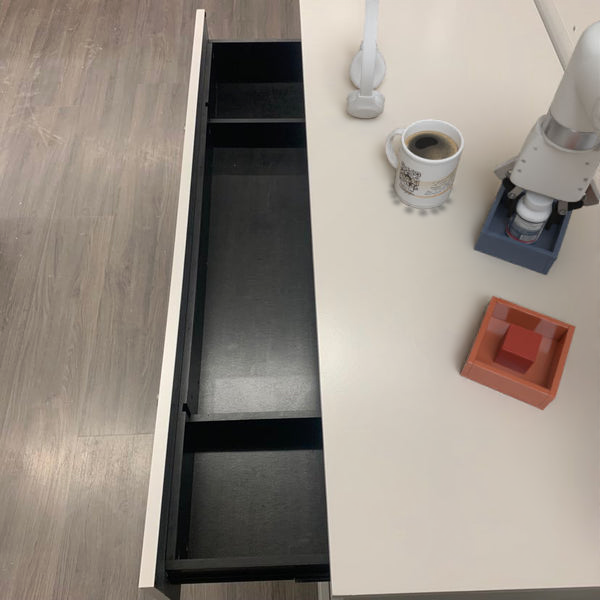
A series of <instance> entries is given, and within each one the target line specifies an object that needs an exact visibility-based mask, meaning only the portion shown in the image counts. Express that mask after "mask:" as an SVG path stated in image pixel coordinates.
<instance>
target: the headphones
mask: <svg viewBox="0 0 600 600" xmlns="http://www.w3.org/2000/svg"><path fill="white" fill-rule="evenodd" d="M379 4H380V0H365V10H364V24H363V38H362V40H361V43H360V44H359V45H360V46H359V48H358V51H357V52H356V53H355V54H354V56H353V57H352V59H351V62H350V65H349V77H350V80H351V82H352V84H353V85H354V86H355V87H356V88H358V89H355V90H352V91H351V92H349V93H348V94H347V96H346V112H347V113H348V114H349V115H351V116H353V117H356V118H358V119H373V118H375V117H379V116H381V115H382V114H383V113H384V108H385V102H386V97H385V95H384V93H382V92H380V90H376V88H378V87H379V86H380V85H381V84H382V83H383V81H384V79H385V77H386V73H387V65H386V60H385V58H384V56H383V54H382V53H381V51H379V46H378V42H377V37H378V21H379Z"/></svg>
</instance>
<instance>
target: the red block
mask: <svg viewBox="0 0 600 600" xmlns="http://www.w3.org/2000/svg"><path fill="white" fill-rule="evenodd" d="M542 337H543V335H541V334H539V333H536V332H533V331H531V330H528V329H526V328H523V327H520V326H518V325H515V324H513V323H511V324H510V325H509V327H508V329H507V330H506V332H505V334H504V335H503V337H502V339H501V342H500V345H499V347H498V350H497V353H496V356H495V359H494V361H493V362H495V363H497V364H499V365H502V366H504V367H507V368H509V369H512V370H514V371H517V372H519V373H521V374H525V373H526V372H527V371H528V369H529V368H530V367H531V366H532V364H533V363H534V362H535V359H536V356H537V353H538V350H539V347H540V343H541V340H542Z"/></svg>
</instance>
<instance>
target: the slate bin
mask: <svg viewBox="0 0 600 600" xmlns="http://www.w3.org/2000/svg"><path fill="white" fill-rule="evenodd" d="M526 192H527V189H524V190H523V191H522V192H521V195H520V197H519V199H520V198H521V197H523V196H524V195H525V194H526ZM508 198H509V197H508V192H507V190H506V189H505V187H504V186H503V184H502V183H501V184H500V187H499V189H498V191H497V193H496V196H495V198H494V200H493V203H492V205H491V207H490V209H489V212H488V214H487V216H486V219H485V222H484V223H483V226H482V228H481V231H480V233H479V235H478V238H477V241H476V243H475V246H474V250H473V251H477V252H479V253H482V254H485V255H488V256H491V257H494V258H496V259H500V260H502V261H505V262H508V263H511V264H513V265H516V266H519V267H522V268H525V269H528V270H531V271H534V272H536V273H539V274H541V275H545V276H547V275H548V273H549V272H550V270H551V269H552V267H553V266H554V264H555V262H556V260H558V257H559V255H560V254H559V253H560V251H561V247H562V244H563V241H564V240H565V239H564V238H565V235H566V233H567V229H568V226H569V224H570V220H571V217H572V214H573V211H574V210H572V211H567V213H566V214H565V215H562V217H561V219H560V220H559V222H558V224H557V225H556V224H552V226H551V228H550V230H549V231H547V230H545V229H544V228H545V226H544V228H543V230H542V232H541V234H540V236H539V238H538V239H537V240H536V241H535V242H533V243H531V244H527V243H524V242H521V241H518V240H515V239H512V238H510V237H509V236H508V235H507V232H506V227H507V224H508V222H509V220H510V217H509V218H508V217H506V215H507V213H508V210H509V209H506V208H505V206H506V203H507V201H508ZM557 200H558V201H559V199H556V198H554V201H553V203H552V209H553V207H554V205H555V204H556V202H557ZM545 225H546V224H545Z"/></svg>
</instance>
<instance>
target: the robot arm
mask: <svg viewBox="0 0 600 600" xmlns="http://www.w3.org/2000/svg"><path fill="white" fill-rule="evenodd" d="M599 165H600V20H597V21H595V22H593V23H592V24H590V25H588V26H587V27H586V28H585V29H584V30H583V31H582V33H581V34H580V36H579V38H578V40H577V42H576V43H575V46H574V49H573V51H572V54H571V56H570V58H569V61H568V63H567V66H566V68H565V70H564V72H563V74H562V77H561V80H560V81H559V84H558V86H557V89H556V91H555V93H554V96H553V99H552V100H551V102H550V105H549V107H548V110H547V112H546V114H542V115H541V116H540V117H538V119H537V120H536V122H535V123H534V124H533V126H532V127H531V128H530V130H529V132H528V134H527V135H526V138H525V140H524V142H523V144H522V146H521V148H520V150H519V152H518V155H515V156H514V157H510V158H509V159H507V160H504V161H502V162H500V163H498V164H496V165H495V167H494V170H493V173H494V175H495V176H496V177H497V178H498V180H499V181H501V184H503V186H504V187H505V189H506V190H507V192H508V197H509V198H508V201H507V203H506V206H505V208H506V209H509V210H508V213H507V215H506V217H508V218H509V217H511V216H512V213H513V211H514V209H515V207H516V205H517V202H518V200H519V197H520V195H521V192H522V191H523V190H524V189H527V190H530V191H533V192H536V193H540V194H543V195H546V196H549V197H553V198H555V199H559V201H558V200H557V202H556V204H555V205H554V207H553V209H552V213H551V215H550V217H549V219H548V221H547V223H546V225H545V228H544V229H545V230H547V231H549V230H550V228H551V226H552V224H556V225H557V224H558V222H559V220H560V219H561V217H562V215H565V214H566V213H567V211H572V210H573V211H574V210H579V209H582V208H583V207H589V206H596V205H599V204H600V191H599V188H598V187H597V185H596V183H595V180H594V179H593V178H594V176H595V174H596V172H597V170H598V167H599ZM573 211H572V212H573Z"/></svg>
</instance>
